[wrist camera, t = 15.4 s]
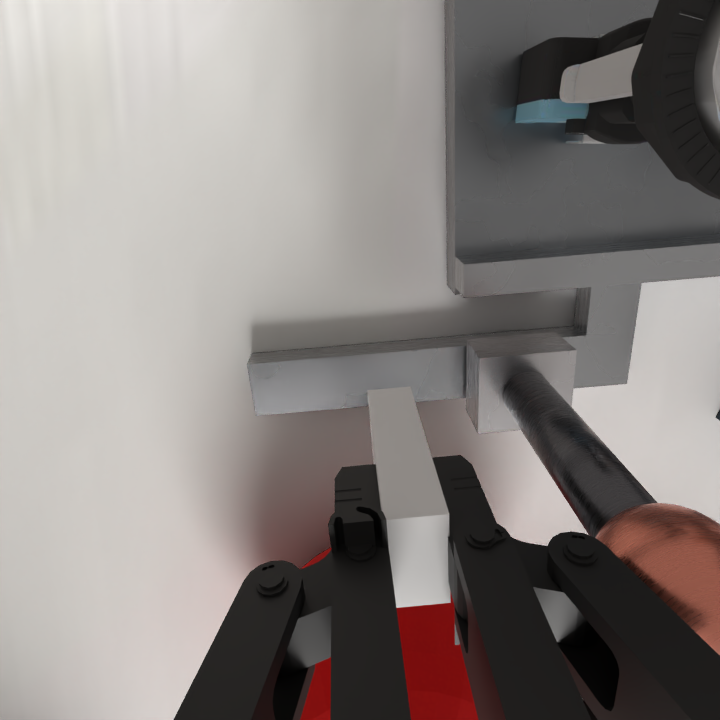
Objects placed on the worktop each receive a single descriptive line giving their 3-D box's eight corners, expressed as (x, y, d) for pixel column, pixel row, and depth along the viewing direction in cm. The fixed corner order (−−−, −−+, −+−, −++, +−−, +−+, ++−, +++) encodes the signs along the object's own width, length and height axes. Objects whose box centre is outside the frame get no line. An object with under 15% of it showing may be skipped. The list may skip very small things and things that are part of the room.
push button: (720, 4, 16) (1218, -179, 7) (678, 180, 18) (1021, 214, 9) (516, -1, 16) (758, -199, 7) (496, 178, 18) (662, 212, 9)
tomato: (526, 543, 27) (641, 786, 17) (398, 693, 31) (428, 960, 21) (326, 454, 24) (319, 679, 14) (216, 631, 28) (148, 903, 18)
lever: (466, 409, 22) (615, 711, 10) (466, 339, 20) (637, 593, 9) (549, 402, 22) (793, 695, 10) (555, 331, 20) (841, 574, 9)
